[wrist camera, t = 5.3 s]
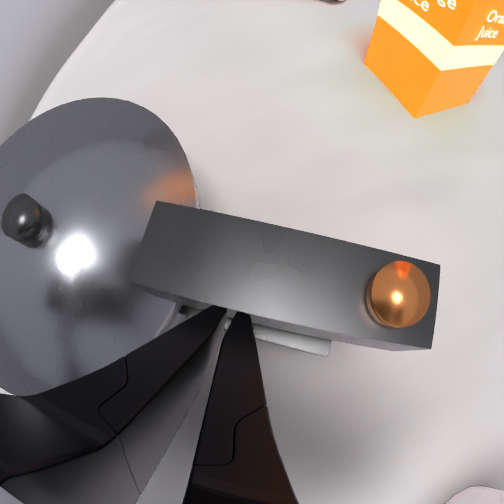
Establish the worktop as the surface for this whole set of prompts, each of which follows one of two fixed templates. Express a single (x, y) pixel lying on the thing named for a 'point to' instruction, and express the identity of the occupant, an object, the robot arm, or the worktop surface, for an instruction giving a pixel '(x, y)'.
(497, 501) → the foam cup
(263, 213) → the worktop surface
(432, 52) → the orange juice
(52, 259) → the cooker lid
